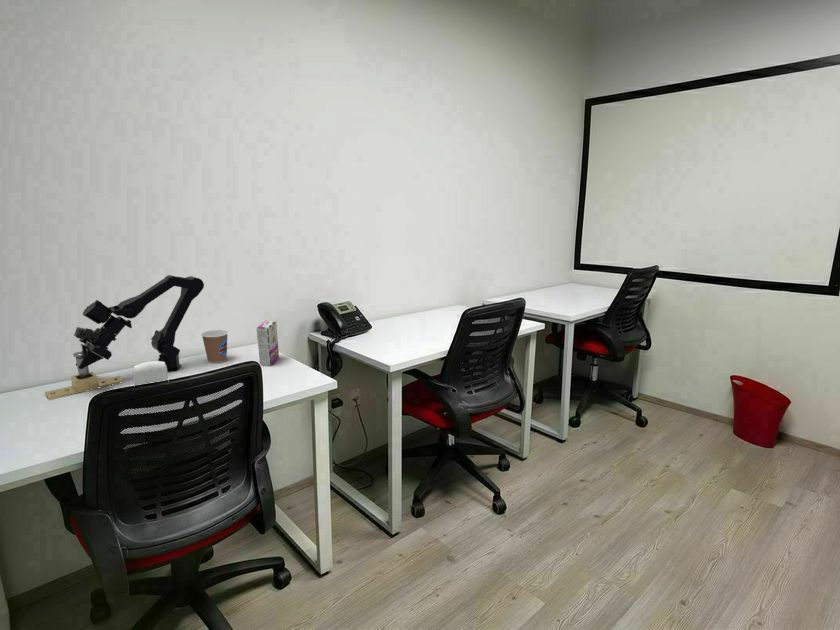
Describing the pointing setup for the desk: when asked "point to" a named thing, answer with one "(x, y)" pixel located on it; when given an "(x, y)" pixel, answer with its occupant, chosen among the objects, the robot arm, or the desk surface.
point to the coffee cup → (215, 345)
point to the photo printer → (150, 372)
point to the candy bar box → (267, 342)
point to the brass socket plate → (83, 385)
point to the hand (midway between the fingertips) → (78, 367)
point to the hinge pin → (79, 357)
